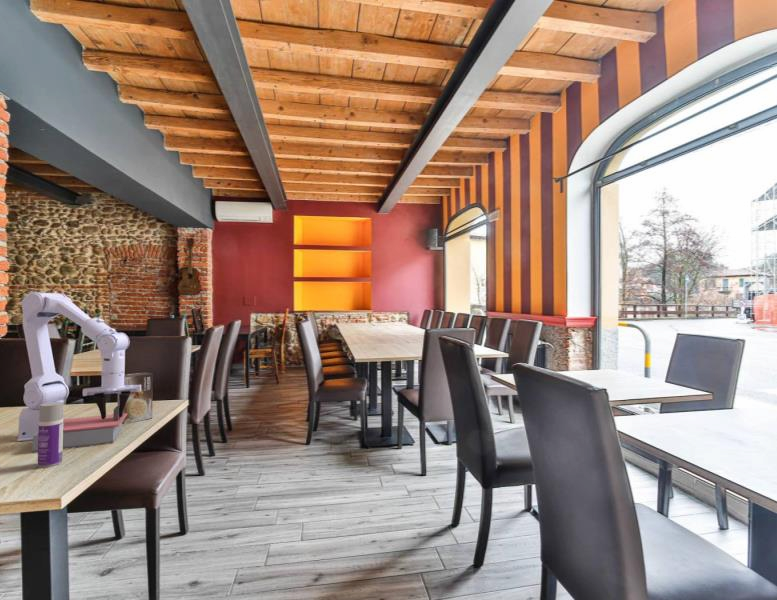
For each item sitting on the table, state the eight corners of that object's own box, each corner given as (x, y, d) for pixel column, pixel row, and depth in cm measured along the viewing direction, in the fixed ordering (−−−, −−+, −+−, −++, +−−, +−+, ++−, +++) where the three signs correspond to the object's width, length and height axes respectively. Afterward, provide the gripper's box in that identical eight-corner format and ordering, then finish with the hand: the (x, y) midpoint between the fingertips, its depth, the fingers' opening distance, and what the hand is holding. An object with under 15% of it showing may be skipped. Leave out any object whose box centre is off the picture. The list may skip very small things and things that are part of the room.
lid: (39, 434, 106) (39, 419, 106) (56, 421, 118) (57, 408, 119) (118, 426, 114) (119, 412, 114) (127, 414, 126) (127, 402, 126)
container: (34, 469, 94) (36, 406, 95) (40, 462, 98) (42, 402, 99) (59, 465, 96) (61, 404, 97) (64, 459, 100) (66, 400, 101)
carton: (32, 452, 105) (33, 435, 105) (50, 437, 118) (51, 422, 118) (112, 443, 113) (113, 427, 113) (121, 429, 125) (122, 415, 126)
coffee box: (145, 415, 143) (146, 371, 143) (152, 418, 139) (153, 373, 139) (116, 421, 135) (117, 374, 136) (123, 424, 132) (124, 376, 132)
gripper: (80, 376, 112) (78, 423, 112) (139, 372, 119) (138, 417, 118) (86, 372, 119) (85, 417, 118) (142, 369, 125) (141, 412, 125)
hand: (112, 417), depth 119 cm, fingers open, 4 cm apart
